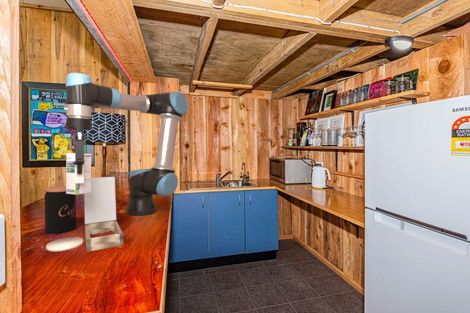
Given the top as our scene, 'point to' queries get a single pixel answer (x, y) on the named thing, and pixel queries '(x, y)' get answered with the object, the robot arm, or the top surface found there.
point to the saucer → (64, 244)
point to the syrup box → (70, 175)
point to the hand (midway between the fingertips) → (78, 181)
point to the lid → (100, 200)
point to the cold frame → (104, 240)
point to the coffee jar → (59, 210)
